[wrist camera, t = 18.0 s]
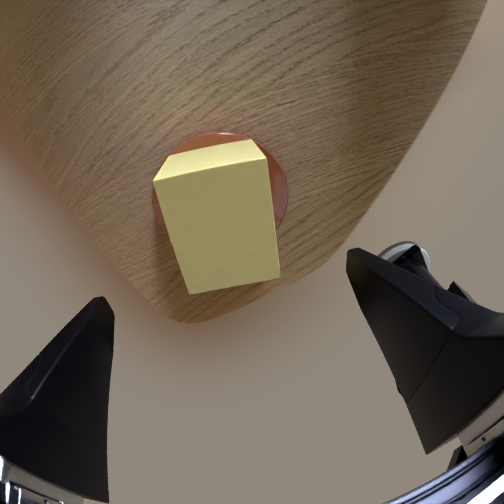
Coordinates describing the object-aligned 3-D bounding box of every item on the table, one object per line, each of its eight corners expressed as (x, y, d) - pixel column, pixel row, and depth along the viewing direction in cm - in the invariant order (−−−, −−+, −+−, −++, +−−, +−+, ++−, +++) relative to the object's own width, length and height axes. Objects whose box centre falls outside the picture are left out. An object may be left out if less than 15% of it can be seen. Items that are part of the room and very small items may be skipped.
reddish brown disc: (307, 197, 18) (313, 204, 17) (217, 269, 20) (218, 279, 19) (224, 102, 14) (225, 103, 13) (130, 195, 16) (125, 202, 15)
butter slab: (265, 234, 18) (280, 278, 14) (193, 247, 17) (189, 295, 14) (252, 138, 14) (266, 157, 11) (168, 155, 14) (152, 180, 10)
